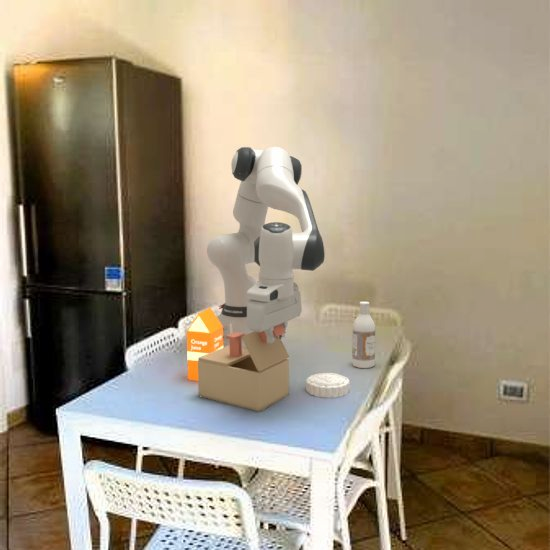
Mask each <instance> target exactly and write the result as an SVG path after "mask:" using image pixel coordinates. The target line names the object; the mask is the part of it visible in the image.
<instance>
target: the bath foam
mask: <svg viewBox="0 0 550 550" xmlns="http://www.w3.org/2000/svg"><path fill="white" fill-rule="evenodd" d="M351 341H352V346H351V347H352V348H351V349H352V351H351V353H352V354H351V356H352V359H351V364H352V366H353V367H355V368H359V369H370V368H372V367H374V366H375V362H376V324H375V322H374V320H373V318H372V317H371V315H370V302H369V301H359V314H358V315H357V317H356V318H355V320H354V322H353V325H352V340H351Z"/></svg>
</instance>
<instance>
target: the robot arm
mask: <svg viewBox="0 0 550 550" xmlns="http://www.w3.org/2000/svg"><path fill="white" fill-rule="evenodd" d="M230 165H231V173H232V174H231V175H233V177H234V178H235V179H237V180H239V181H240V184H239V186H238V190H237V195H236V198H235V201H234V206H233V210H232V214H233V218H234V219H235V221H236V222H238V223H239V228H238V231H237V232H235V233H234V232H233V233H225V234H221V235H219V236H215V237H213V238H212V239H210V240H209V242H208V244H207V247H206V253H207V254H206V255H207V258H208V260H209V261H210V262H211V264H212V265H214V266H215V267H216V268H217V269H218V271H219V272H220V274H221V276H222V281H223V285H224V303H223V304H222V305H218V307H219V308H218V309H219V310H221V312H220V314H219V315H218V316H217V315H216V317H217V318H218V320H219V322H220V323H221V325H222V326H223V348H224V347H227V346H229V345H230V339H226V336H227V335H229V334H232V333H235V332H238V333H244V334H245V335H246V334H249V333H251V332H254V331H255V332H262V331H264V332H265V334H266V336H267V343H274V342H275V341H276V340H275V339H276V338H277V339H281V340H283V339H285V335H286V334H285V333H284V334H282V335H280V336H278V337H275V338H274V335H273V332H272V331H273V330H274V326H277V325H279V324H281V323H282V325H283V327H284V329H285V331H287V328H288V321H290V320H293V319H296V318H298V317H301V314H302V295H301V292H300V290H299V285H298V284H297V283H296V282H295V281H294V271H293V270H300V271H311V272H314V271H316V269H318V268H319V267H320V266H321V265H322V264H323V263H324V262H325V258H326V257H325V256H326V247H325V243H324V240H323V237H322V235H321V233H320V231H319V227H318V224H317V220H316V218H315V213H314V211H313V208H312V204H311V201H310V198H309V196H308V193H307V191H305V190H304V189H302V188H300V187H299V185H298V184H299V183H300V180H301V178H302V173H303V171H302V163H301V161H300V160H299V159H298V158H296V157H294V156H291V155H290V154H289V153H288V151H287V150H286V149H284V148H282V147H279V146H270V147H267V148H265V149H261V148H251V147H249V146H246V147H245V146H244V147H239V148H238V149H237V150H236V151H235V153H234V155H233V157H232V159H231V163H230ZM269 208H271V209H273V210H278V211H281V212H285V213H287V214H289V215H290V214H291V215H292V216H294V217H295V218H297V219H298V222H299V226H300V230H301V232H293V229H292V227H291V225H290V224H288V223H284V222H280V221H279V222H278V221H273V222H267V223H266V218H267V214H268V209H269ZM252 263H253V264H254V263H255V264H256V265H257V266H258V267H260V268H259V272H258V280H257V281H256V280H255V278H253V277H252V276H250V275H249V274H248V271H247V268H246V265H247V264H252ZM242 348H246V346H245V344H244V341H243V339H242ZM246 349H247V348H246Z"/></svg>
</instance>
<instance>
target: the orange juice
mask: <svg viewBox="0 0 550 550" xmlns="http://www.w3.org/2000/svg"><path fill="white" fill-rule="evenodd" d="M221 348H223V326H222V325H221V323H220V322H219V320H218V318H217V315H216V314H215V312H214V311H213V310H212V307H208V308H207V309H205V310H203V311H201V312H199V313H197V315H196V316H195V318H194V320H193V321H192V322H191V324H190V325H189V327H188V328H187V330H186V350H187V351H186V352H187V354H186V357H187V377H188V378H187V379H189V380H190V381H197V382H198V358H199V357H201V356H204V355H206V354H209V353H211V352H214V351H216V350H219V349H221Z"/></svg>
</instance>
